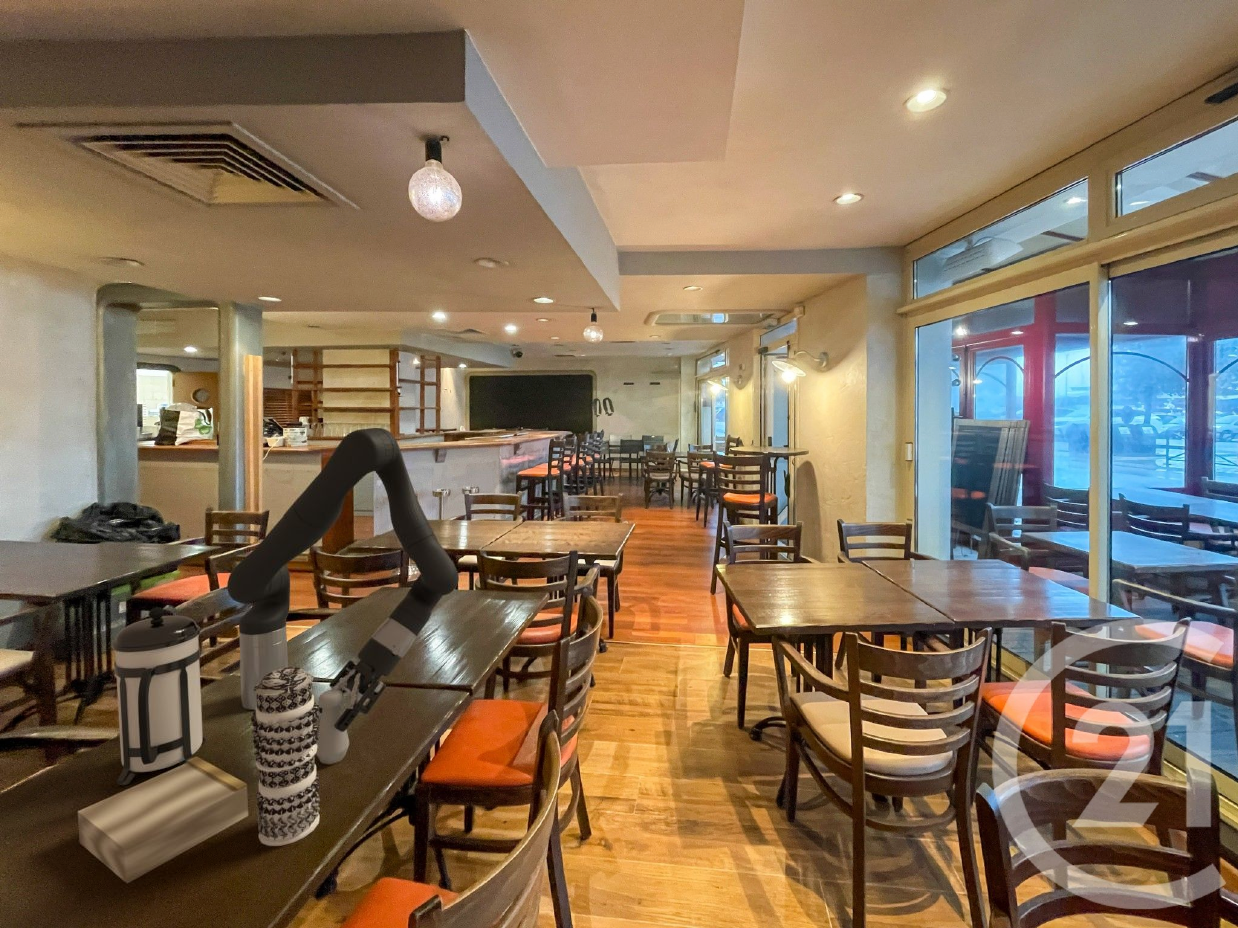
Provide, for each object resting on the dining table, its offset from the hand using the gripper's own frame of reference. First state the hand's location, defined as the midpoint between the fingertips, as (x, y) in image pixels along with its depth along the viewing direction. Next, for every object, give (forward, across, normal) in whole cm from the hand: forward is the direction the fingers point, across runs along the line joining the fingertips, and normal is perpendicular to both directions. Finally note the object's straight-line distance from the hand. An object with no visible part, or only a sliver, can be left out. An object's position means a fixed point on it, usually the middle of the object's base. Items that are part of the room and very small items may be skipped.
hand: (329, 721), depth 109 cm
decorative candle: (+14, +15, -3) cm, 20 cm away
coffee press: (+21, -20, -10) cm, 31 cm away
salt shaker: (+5, 0, +6) cm, 8 cm away
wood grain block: (+23, +2, -12) cm, 26 cm away
